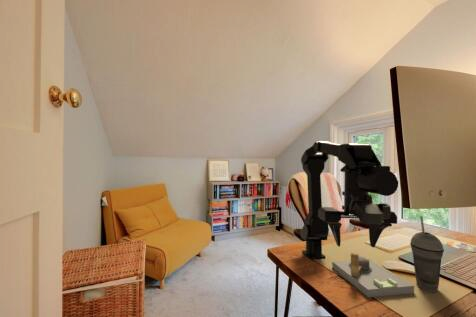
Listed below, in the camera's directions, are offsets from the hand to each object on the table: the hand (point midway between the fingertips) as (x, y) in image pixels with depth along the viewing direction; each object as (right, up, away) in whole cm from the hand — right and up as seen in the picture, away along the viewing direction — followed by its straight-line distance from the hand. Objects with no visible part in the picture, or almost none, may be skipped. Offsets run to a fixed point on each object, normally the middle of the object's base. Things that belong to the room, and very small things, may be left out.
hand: (355, 246), depth 57 cm
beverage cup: (+22, -13, +3) cm, 26 cm away
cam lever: (+5, -11, +8) cm, 14 cm away
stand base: (+8, -13, +7) cm, 17 cm away
